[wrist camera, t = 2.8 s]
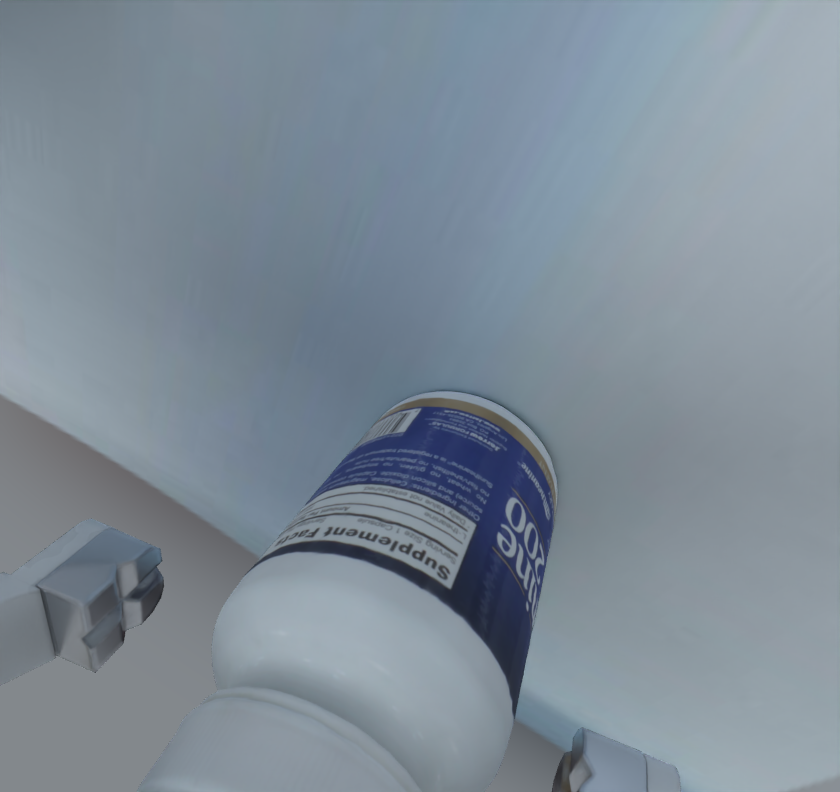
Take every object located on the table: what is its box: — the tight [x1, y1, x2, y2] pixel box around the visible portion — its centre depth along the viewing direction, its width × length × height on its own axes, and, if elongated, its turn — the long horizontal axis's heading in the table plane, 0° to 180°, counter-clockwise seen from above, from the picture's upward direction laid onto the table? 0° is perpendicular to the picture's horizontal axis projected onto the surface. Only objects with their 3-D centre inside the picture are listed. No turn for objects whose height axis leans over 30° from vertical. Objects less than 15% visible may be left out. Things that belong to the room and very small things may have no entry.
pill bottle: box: [137, 391, 558, 792], centre depth 11 cm, size 5×5×10 cm
